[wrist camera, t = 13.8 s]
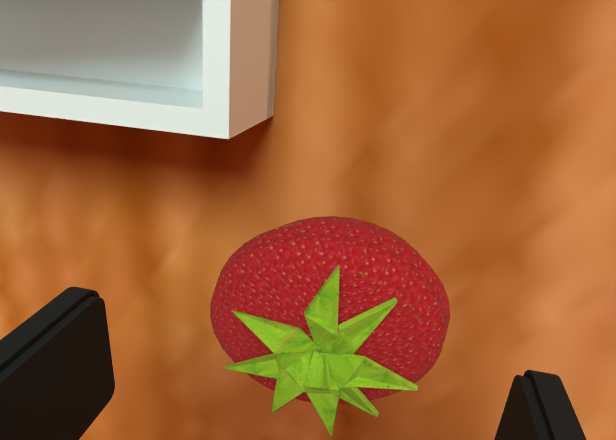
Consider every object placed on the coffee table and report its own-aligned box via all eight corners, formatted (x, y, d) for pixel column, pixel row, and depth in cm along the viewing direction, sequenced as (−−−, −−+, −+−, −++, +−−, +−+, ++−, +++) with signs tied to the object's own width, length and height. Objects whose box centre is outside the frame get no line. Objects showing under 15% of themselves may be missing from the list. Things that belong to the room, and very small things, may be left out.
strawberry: (256, 175, 19) (120, 292, 10) (443, 176, 18) (479, 316, 9) (267, 299, 21) (161, 489, 12) (436, 310, 20) (458, 536, 11)
